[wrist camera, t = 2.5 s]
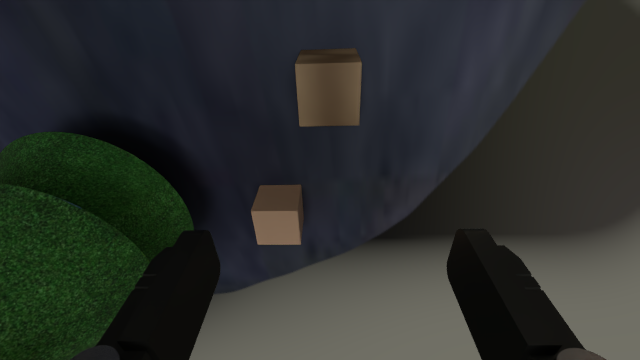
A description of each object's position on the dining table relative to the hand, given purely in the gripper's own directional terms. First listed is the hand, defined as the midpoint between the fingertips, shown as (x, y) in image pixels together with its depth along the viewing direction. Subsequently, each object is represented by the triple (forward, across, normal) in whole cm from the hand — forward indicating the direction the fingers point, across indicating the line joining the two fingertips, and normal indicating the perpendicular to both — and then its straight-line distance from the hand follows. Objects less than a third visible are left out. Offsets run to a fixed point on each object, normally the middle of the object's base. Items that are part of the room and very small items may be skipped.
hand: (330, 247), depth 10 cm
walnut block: (+22, 0, 0) cm, 22 cm away
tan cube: (+22, +6, +15) cm, 27 cm away
